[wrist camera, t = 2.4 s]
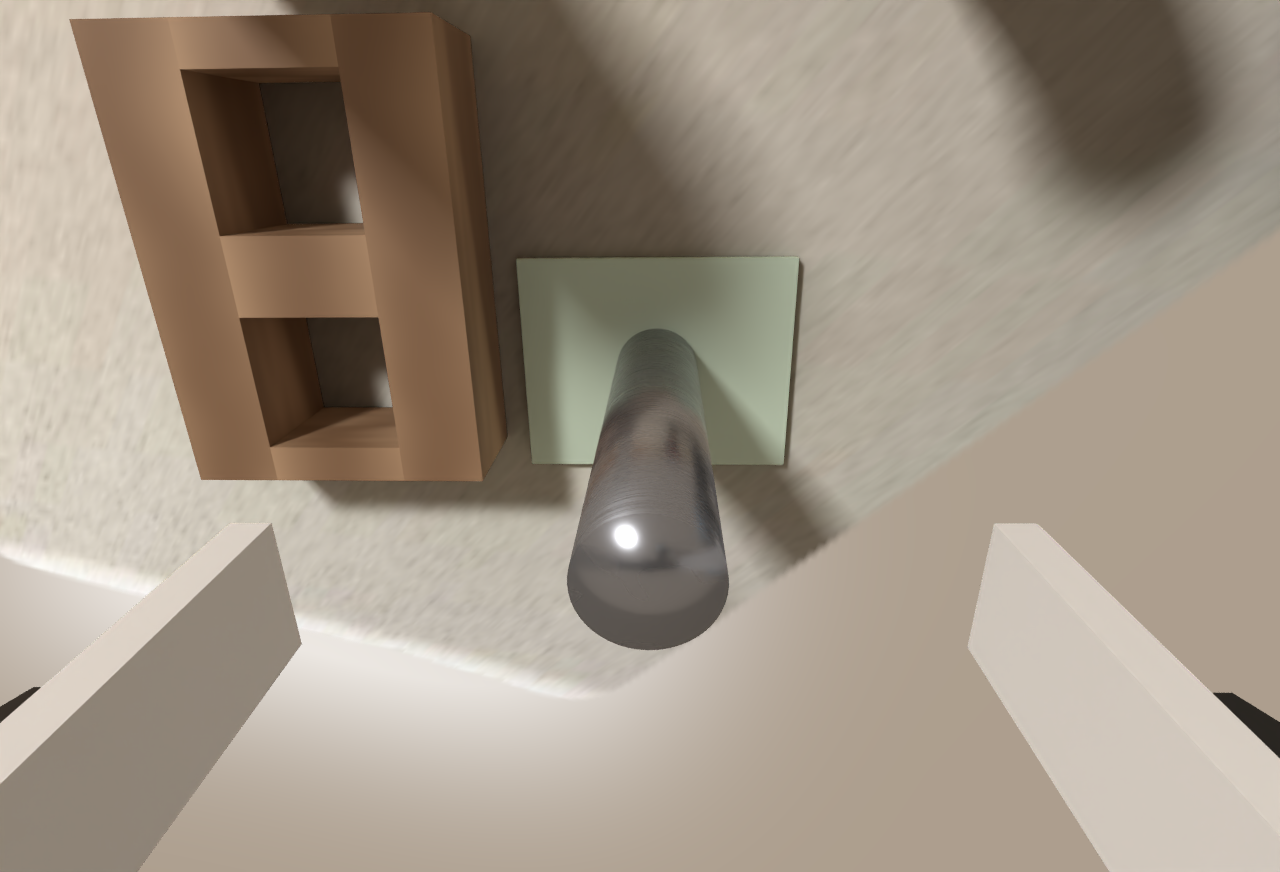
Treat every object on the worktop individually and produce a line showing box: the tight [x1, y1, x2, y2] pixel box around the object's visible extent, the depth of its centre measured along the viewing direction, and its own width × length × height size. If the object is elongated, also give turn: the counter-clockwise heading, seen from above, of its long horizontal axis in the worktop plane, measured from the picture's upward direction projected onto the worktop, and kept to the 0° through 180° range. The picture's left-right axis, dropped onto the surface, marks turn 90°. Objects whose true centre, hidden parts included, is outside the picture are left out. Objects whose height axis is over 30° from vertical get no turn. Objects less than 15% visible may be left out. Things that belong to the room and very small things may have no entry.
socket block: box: [69, 12, 507, 481], centre depth 23 cm, size 10×14×4 cm
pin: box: [567, 328, 729, 650], centre depth 19 cm, size 3×3×14 cm
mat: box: [516, 256, 799, 465], centre depth 26 cm, size 10×8×1 cm
